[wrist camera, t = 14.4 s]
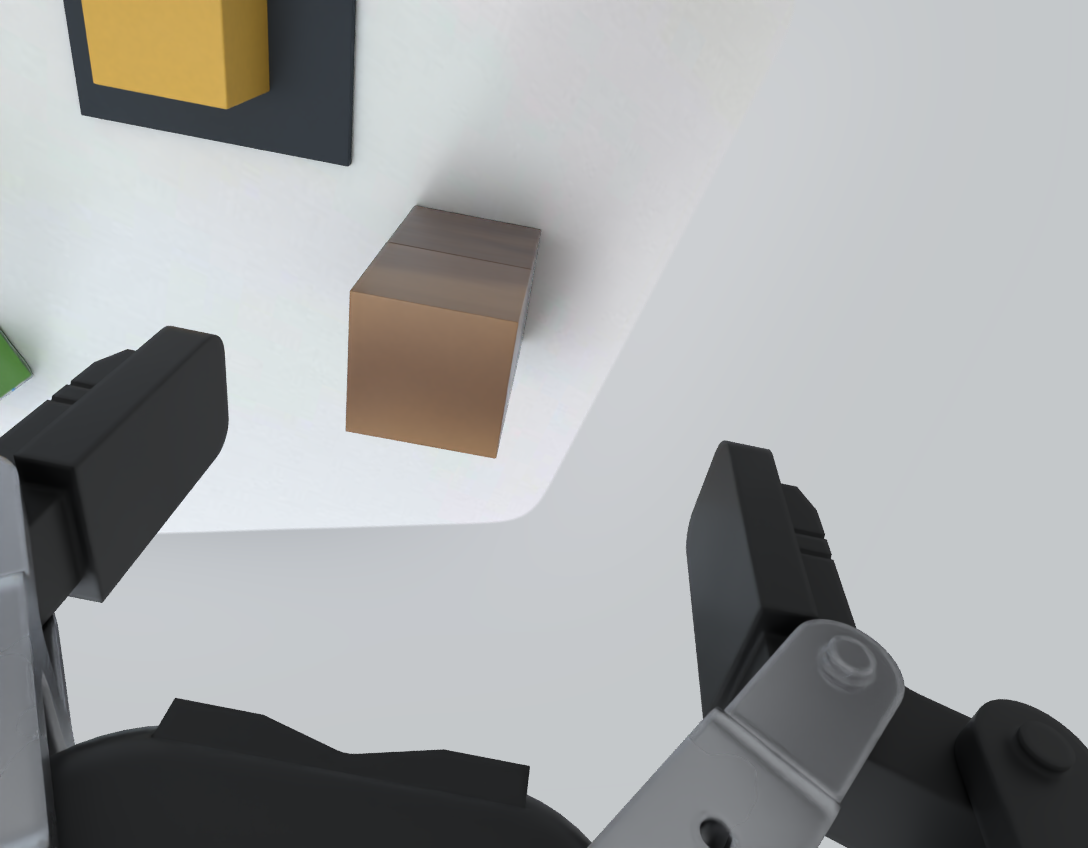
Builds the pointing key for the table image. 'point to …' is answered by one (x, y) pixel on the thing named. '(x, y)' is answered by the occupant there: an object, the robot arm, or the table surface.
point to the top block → (180, 48)
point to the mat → (271, 118)
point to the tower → (440, 331)
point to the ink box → (11, 368)
